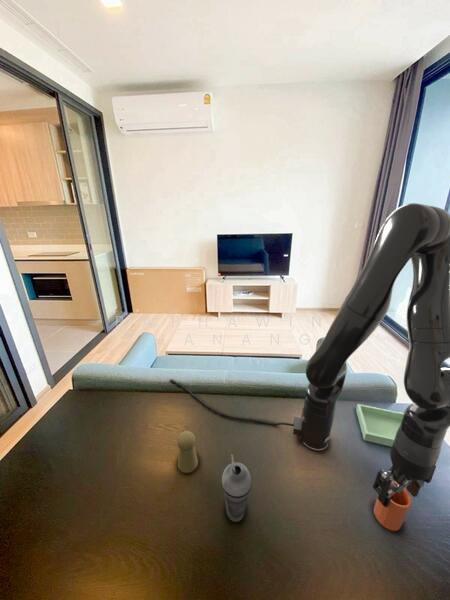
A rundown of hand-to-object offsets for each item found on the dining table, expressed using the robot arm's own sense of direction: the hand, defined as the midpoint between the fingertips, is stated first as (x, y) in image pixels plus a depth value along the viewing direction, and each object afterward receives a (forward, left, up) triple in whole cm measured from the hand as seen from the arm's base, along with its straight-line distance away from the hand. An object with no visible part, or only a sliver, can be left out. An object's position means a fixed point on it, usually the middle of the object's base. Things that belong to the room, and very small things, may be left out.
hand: (397, 497), depth 59 cm
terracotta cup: (-1, 0, -7) cm, 7 cm away
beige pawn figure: (-55, -2, -8) cm, 55 cm away
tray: (+7, +29, -7) cm, 31 cm away
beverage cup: (-38, -10, -8) cm, 40 cm away
